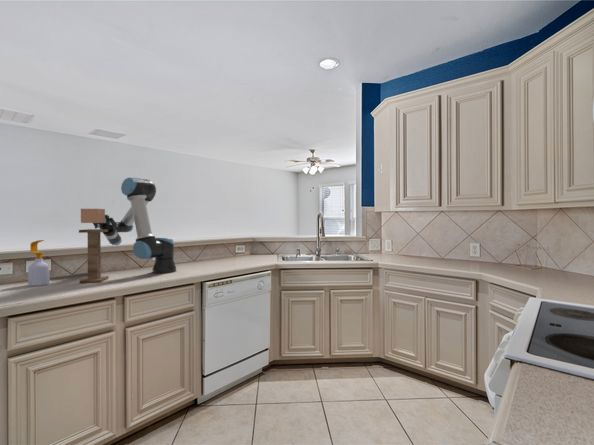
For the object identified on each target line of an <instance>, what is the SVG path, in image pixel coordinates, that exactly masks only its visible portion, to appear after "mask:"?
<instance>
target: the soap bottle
mask: <svg viewBox="0 0 594 445" xmlns="http://www.w3.org/2000/svg"><path fill="white" fill-rule="evenodd" d="M44 241H45V240H44V239H39V240H36V241H32V242H31V243H30V253H31V254H35V256H36V257H35V258H34V262H32V263H31V264H29V265H28V268H27V276H28V277H27V283H28V285H27V286H30V287H41V286H47V285H49V284H50V265H49V264H48V263H47V262H44V260H43V257H42V255H43V254H45V253H46V252H45V251H38V244H39V243H41V242H44Z"/></svg>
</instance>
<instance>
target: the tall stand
mask: <svg viewBox="0 0 594 445" xmlns="http://www.w3.org/2000/svg"><path fill="white" fill-rule="evenodd" d="M103 232H108V229H100V228H93V229H92V228H91V229H90V228H88V229H78V234H79V233H80V234H83V233H85V234H86V233H87V277H85V278H82V279H80V280H79V281H78V282H79V284H95V283H96V284H97V283H98V284H99V283H103V282H105V281H107V280H109V276H105V275H103V276H102V275H101V274H102V273H101V271H102V270H101V269H102V268H101V266H102V265H101V262H102V261H101V257H102V256H101V254H102V253H101V252H102V251H101V244H102V243H101V241H102V240H101V233H103Z"/></svg>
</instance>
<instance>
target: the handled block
mask: <svg viewBox="0 0 594 445" xmlns="http://www.w3.org/2000/svg"><path fill="white" fill-rule="evenodd" d="M105 215H107V216H109V214H106V209H105V208H80V224H93V223H105Z"/></svg>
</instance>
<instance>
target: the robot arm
mask: <svg viewBox="0 0 594 445" xmlns="http://www.w3.org/2000/svg"><path fill="white" fill-rule="evenodd" d="M120 190H121V193H122V194H123V195H124V196H126V200H128V202H130V205H131V207H129V209H128V210H127V212H126V213H125V215H124V216H123V218H122V219H121V220H120V221H118V222H117V221H115V220H114V218H113V217H110V216H109V215H108V214H105V223H92V224H93V226H94V229H108V232H102V234H103V235H104V236H105V238H106V239H107V241H108V242H109V244H110V245H111V244H112V245H111V246H113V245H116V246H119V245H120V244H121V243H122V241H123V240H122V237H121V235H120V234H119V233H130V232H132V231H133V228H134V227H135V231H136V234H137V237H136V238H135V242H134V243H133V247H132V251H133V254H134V255H135V256H136V257H137V258H138V259H140V260H145V259H146V260H148V259H155V260H154V264H153V266H152V271H151V272H152V273H155V274H169V273H174V272H177V266H176V263H175V261H174V260H175V259H174V240H173V238H168V237H156V236H155V235H154V234H153V233H152V229H151V228H152V227H151V223H150V218H149V214H148V208H147V205H148V204H149V202H152V201H153V200H154V198H155V196H156V194H157V187H156V185H155V183H154V182H153V181H152V180H150V179H145V178H143V179H142V178H137V177H126V178H125V179H124V180H123V181H122V182H121V187H120ZM107 215H108V216H107ZM133 224H134V225H135V226H134V225H133Z"/></svg>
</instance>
